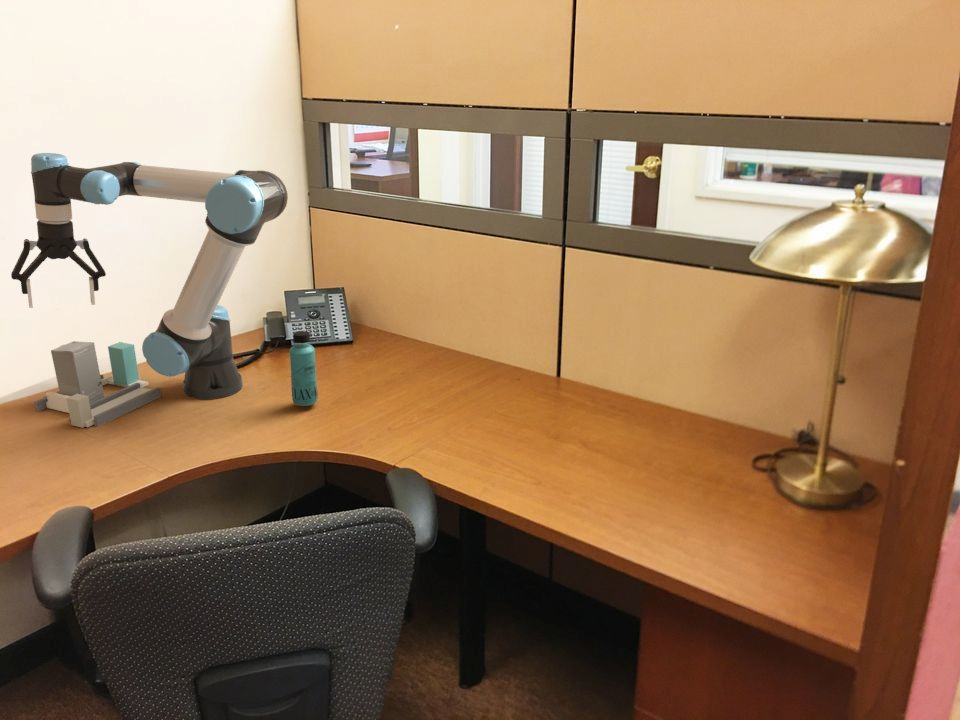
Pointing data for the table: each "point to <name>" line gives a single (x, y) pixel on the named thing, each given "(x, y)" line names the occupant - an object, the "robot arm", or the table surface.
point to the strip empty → (85, 415)
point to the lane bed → (116, 410)
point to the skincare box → (78, 370)
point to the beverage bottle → (303, 370)
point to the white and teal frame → (121, 371)
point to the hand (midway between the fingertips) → (62, 304)
